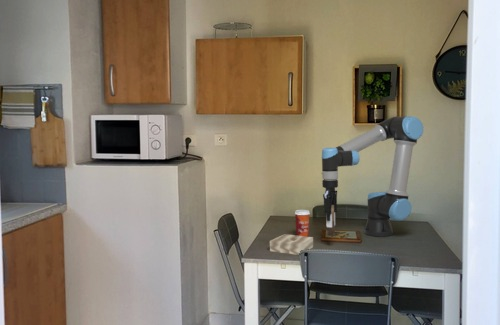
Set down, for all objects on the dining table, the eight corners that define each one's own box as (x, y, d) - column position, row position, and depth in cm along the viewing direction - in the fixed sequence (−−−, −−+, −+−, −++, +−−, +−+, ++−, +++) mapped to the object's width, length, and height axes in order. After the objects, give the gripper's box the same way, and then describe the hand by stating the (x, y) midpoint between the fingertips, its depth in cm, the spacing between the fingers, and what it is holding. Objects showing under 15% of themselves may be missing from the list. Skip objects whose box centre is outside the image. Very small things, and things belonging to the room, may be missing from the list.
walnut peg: (335, 234, 247) (335, 204, 246) (333, 235, 244) (332, 205, 243) (328, 233, 249) (328, 204, 247) (326, 235, 246) (325, 205, 244)
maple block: (313, 247, 248) (313, 237, 248) (299, 255, 235) (299, 244, 234) (284, 243, 256) (284, 234, 256) (269, 251, 243) (269, 241, 242)
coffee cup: (300, 241, 261) (300, 212, 260) (291, 237, 268) (291, 210, 267) (313, 239, 265) (313, 211, 263) (304, 235, 272) (304, 208, 271)
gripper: (329, 176, 253) (329, 222, 255) (316, 181, 239) (317, 229, 241) (343, 177, 249) (343, 223, 251) (331, 181, 235) (332, 230, 237)
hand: (330, 226), depth 246 cm, fingers closed on walnut peg, 3 cm apart
